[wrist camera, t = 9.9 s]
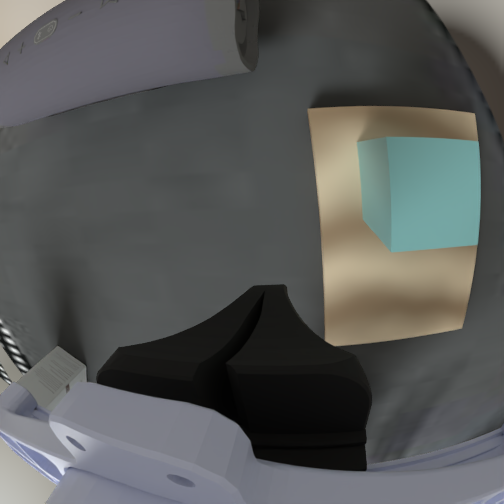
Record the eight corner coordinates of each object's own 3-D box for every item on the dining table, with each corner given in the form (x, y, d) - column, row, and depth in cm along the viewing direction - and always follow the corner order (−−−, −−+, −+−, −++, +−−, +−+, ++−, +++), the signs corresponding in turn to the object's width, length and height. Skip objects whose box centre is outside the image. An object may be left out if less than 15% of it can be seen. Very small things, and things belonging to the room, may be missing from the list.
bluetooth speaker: (263, -5, 15) (236, -84, 5) (261, 96, 18) (226, 48, 9) (50, 52, 18) (-18, 41, 9) (43, 130, 21) (-33, 138, 12)
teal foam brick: (429, 215, 17) (477, 244, 11) (362, 219, 18) (391, 252, 12) (426, 142, 15) (478, 141, 9) (356, 142, 16) (386, 136, 10)
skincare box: (90, 395, 34) (41, 459, 20) (61, 375, 34) (11, 433, 20) (86, 362, 31) (24, 435, 17) (55, 341, 31) (-9, 403, 17)
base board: (455, 319, 21) (461, 328, 19) (324, 336, 23) (325, 346, 22) (465, 115, 15) (474, 113, 14) (307, 112, 18) (307, 108, 16)
